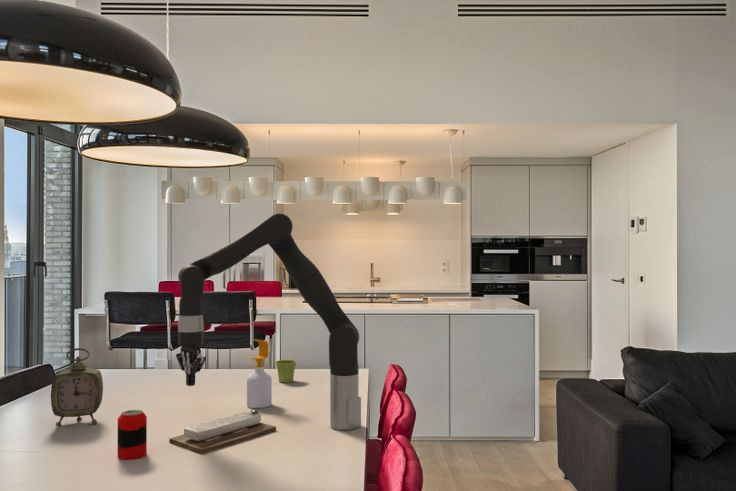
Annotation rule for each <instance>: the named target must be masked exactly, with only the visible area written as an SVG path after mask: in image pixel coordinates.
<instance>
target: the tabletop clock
mask: <svg viewBox="0 0 736 491" xmlns="http://www.w3.org/2000/svg"><path fill="white" fill-rule="evenodd" d="M74 351H84V352H85V353H87V356H85V357H84V358H83V357H82V358H80V356H76V357H75V358H71V357H70V356H69V354H70V353H71V352H74ZM65 356H66V359H67V360H69V361H72V362H73V363H72V364H71V365H70V366H69V368H68V369H64V370H62V371H59V373H57V374H56V375H55V376H54V377H53V380H52V382H51V391H50V404H51V409H52V410H51V411H52V412H53V414H54V416H57V417H60V418H59V420H58V421H57V422H55V427H56V428H59V427H61V426H62V423H61V422H62V421H63V419H64V418H76V417H77V418H76V422H77V423H81V422H82V417H85V416H89V417H90V418H91V425H96V424H97V422H98V421H97V419H96V418H94V413H96V412H97V411H98V409H100V407H101V405H102V400H103V394H104V382H103V375H102V372H101V370H100V369H98V368H94V367H93V368H91V367H87V365H86V363H85V362H83V361H85V360H87V359H89V357H90V352H89V350H87V349H85V348H82V347H77V348H72V349H70V350H69V351H67V353H66V355H65Z"/></svg>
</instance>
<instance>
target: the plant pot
mask: <svg viewBox="0 0 736 491" xmlns="http://www.w3.org/2000/svg"><path fill="white" fill-rule="evenodd" d="M297 363H298V362H297V360H294V359H281V360H276V361H275V366H276V370H277V376H278V381H279V383H285V384H287V383H291V382H294V376H295V368H296V364H297Z"/></svg>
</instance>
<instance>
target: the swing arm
mask: <svg viewBox="0 0 736 491" xmlns="http://www.w3.org/2000/svg"><path fill="white" fill-rule="evenodd" d="M261 421H262V412H261V411H259V409H251V410H250V412H247V411H244V412H240V413H236V414H233V415H229V416H225V417H222V418H221V417H220V418H218V419H217V418H216V419H215V420H213V419H212V420H209V421H206V422H203V423H199V424H194V425H191V426H188V427H184V428H183V435H184V437H187V438H190V439H193V440H196V441H200V440H204V439H207V438H211V437H214V436H217V435H221V434H224V433H228V432H231V431H234V430H238V429H241V428H245V427H248V426H252V425H255V424H258V423H260V422H261Z"/></svg>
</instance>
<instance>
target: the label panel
mask: <svg viewBox="0 0 736 491" xmlns="http://www.w3.org/2000/svg"><path fill="white" fill-rule="evenodd" d="M276 431H277V426H275V425H272V424H268V423H264V422H261V421H260V423H258V424H255V425H252V426H248V427H245V428H241V429H238V430H234V431H231V432H228V433H224V434H221V435H217V436H214V437H211V438H207V439H204V440H200V441H196V440H193V439H190V438H187V437H184V434H181V435H178V436H177V435H176V436H174V437H173V436H172V437H171V438H169V440H168V441H169V444H173V445H176V446H178V447H181V448H184V449H186V450H190V451H192V452H195V453H198V454H200V455H203V454H205V453H209V452H213V451H215V450H216V451H217V450H219V449H221V448H224V447H228V446H231V445H235V444H237V443H240V442H244V441H247V440H250V439H254V438H257V437H259V436H263V435H267V434H269V433H273V432H276Z"/></svg>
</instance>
